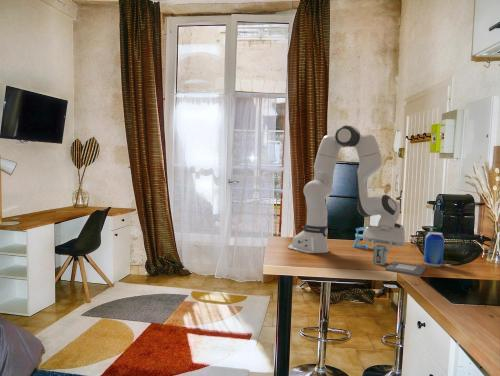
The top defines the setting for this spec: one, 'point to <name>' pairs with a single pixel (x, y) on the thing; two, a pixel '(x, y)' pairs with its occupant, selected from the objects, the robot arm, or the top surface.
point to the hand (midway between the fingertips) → (380, 249)
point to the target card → (406, 268)
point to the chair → (359, 238)
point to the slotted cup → (383, 254)
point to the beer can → (434, 249)
